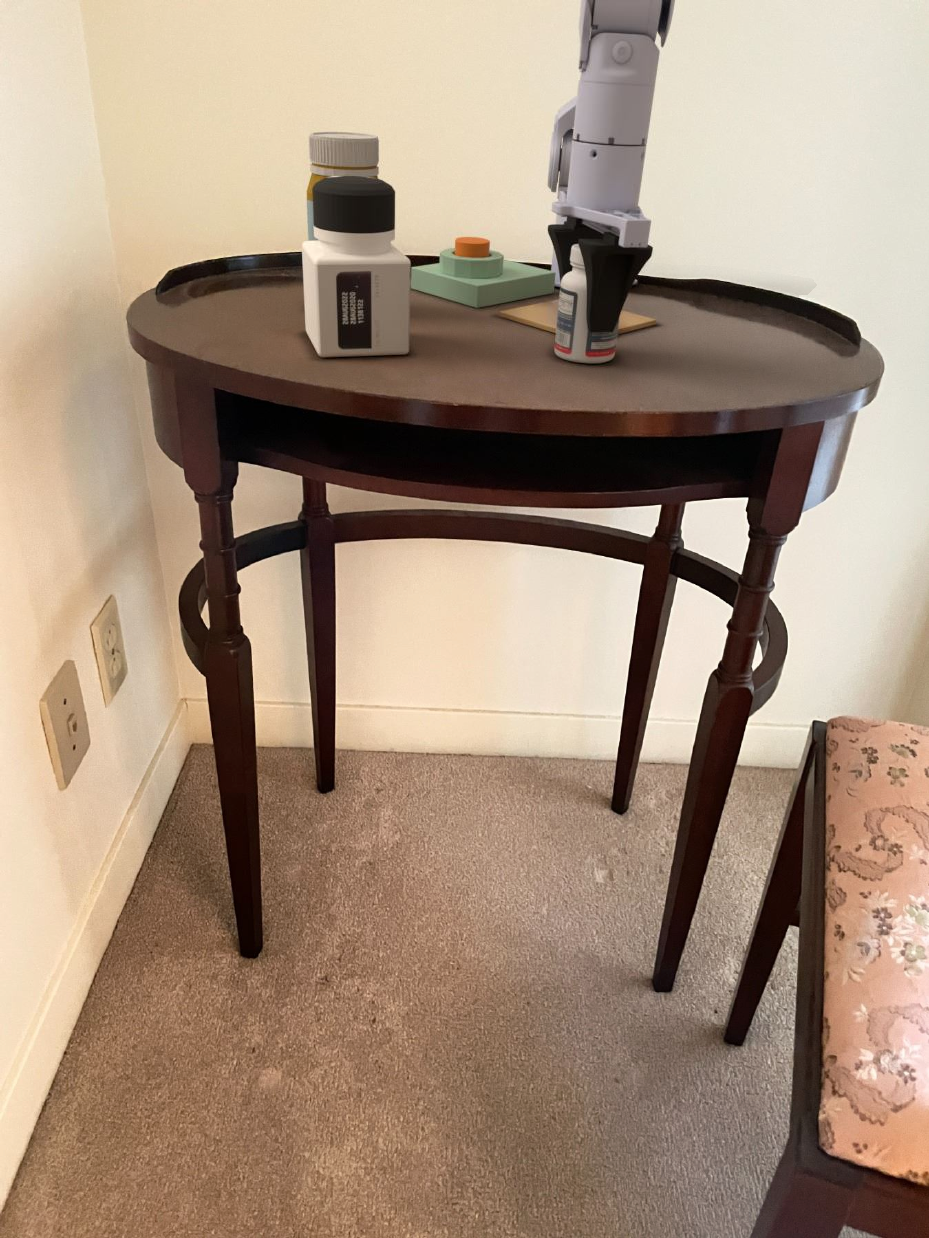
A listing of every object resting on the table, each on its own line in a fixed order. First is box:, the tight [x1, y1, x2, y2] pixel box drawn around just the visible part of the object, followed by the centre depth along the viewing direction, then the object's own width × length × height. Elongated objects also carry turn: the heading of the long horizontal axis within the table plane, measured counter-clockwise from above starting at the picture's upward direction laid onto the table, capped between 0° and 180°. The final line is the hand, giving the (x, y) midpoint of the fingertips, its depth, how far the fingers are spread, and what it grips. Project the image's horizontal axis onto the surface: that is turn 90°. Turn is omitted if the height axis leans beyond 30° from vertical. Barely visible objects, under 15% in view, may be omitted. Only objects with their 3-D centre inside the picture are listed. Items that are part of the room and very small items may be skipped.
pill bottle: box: [553, 244, 620, 365], centre depth 76 cm, size 5×5×9 cm
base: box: [410, 247, 556, 309], centre depth 96 cm, size 12×10×4 cm
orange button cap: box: [454, 236, 491, 258], centre depth 93 cm, size 4×4×2 cm
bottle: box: [306, 131, 380, 241], centre depth 83 cm, size 7×7×15 cm
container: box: [301, 176, 412, 358], centre depth 74 cm, size 8×8×13 cm
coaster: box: [498, 298, 657, 335], centre depth 88 cm, size 11×11×1 cm
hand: (587, 321), depth 76 cm, fingers closed on pill bottle, 5 cm apart
